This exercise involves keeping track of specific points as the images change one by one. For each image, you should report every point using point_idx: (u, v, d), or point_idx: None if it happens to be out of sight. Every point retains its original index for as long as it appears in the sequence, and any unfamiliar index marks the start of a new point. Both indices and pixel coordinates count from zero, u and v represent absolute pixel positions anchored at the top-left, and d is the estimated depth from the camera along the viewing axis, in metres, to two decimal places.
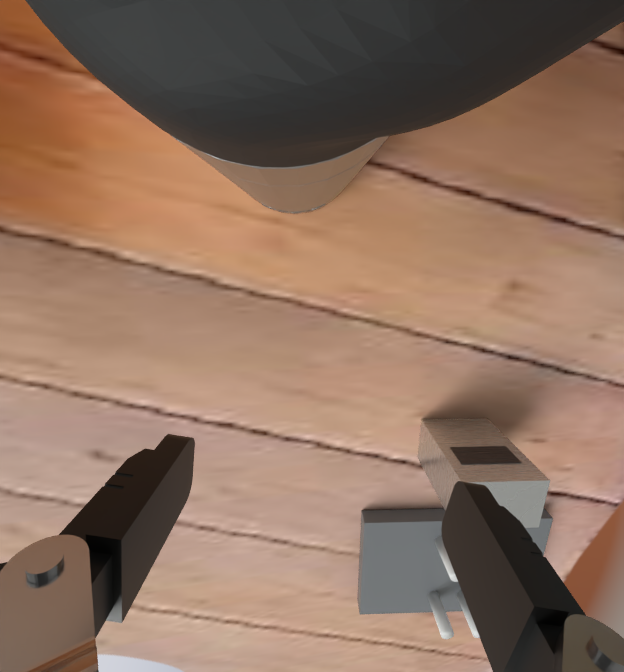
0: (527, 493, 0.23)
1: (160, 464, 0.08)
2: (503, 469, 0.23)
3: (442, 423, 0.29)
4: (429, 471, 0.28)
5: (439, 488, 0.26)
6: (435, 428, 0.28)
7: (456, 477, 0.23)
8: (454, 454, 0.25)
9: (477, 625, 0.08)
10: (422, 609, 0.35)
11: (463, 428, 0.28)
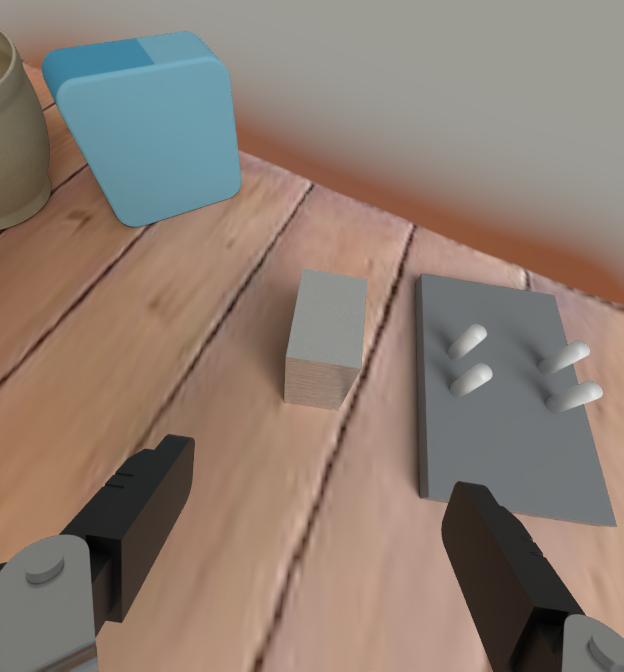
0: (316, 289, 0.20)
1: (160, 464, 0.08)
2: None
3: None
4: (333, 396, 0.22)
5: (336, 385, 0.20)
6: None
7: (289, 363, 0.18)
8: None
9: (477, 625, 0.08)
10: (582, 421, 0.24)
11: None
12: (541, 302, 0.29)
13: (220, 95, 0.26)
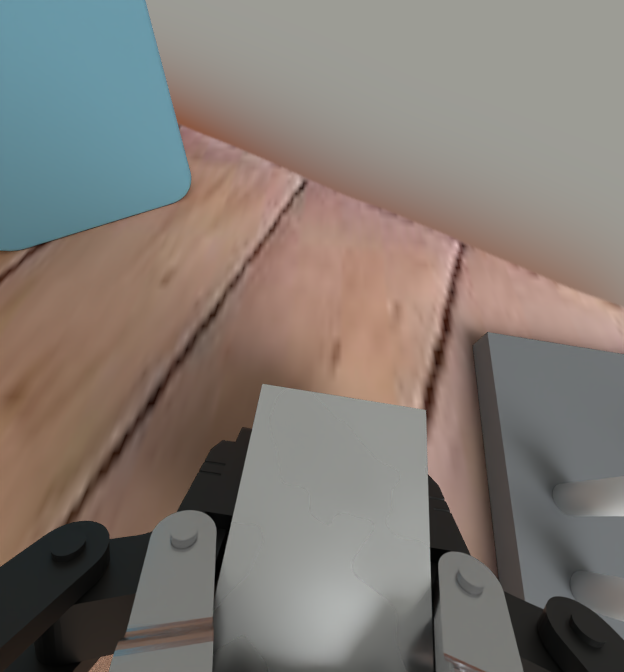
0: (295, 449, 0.07)
1: (245, 453, 0.09)
2: None
3: None
4: None
5: None
6: None
7: None
8: None
9: None
10: None
11: None
12: None
13: (123, 11, 0.14)
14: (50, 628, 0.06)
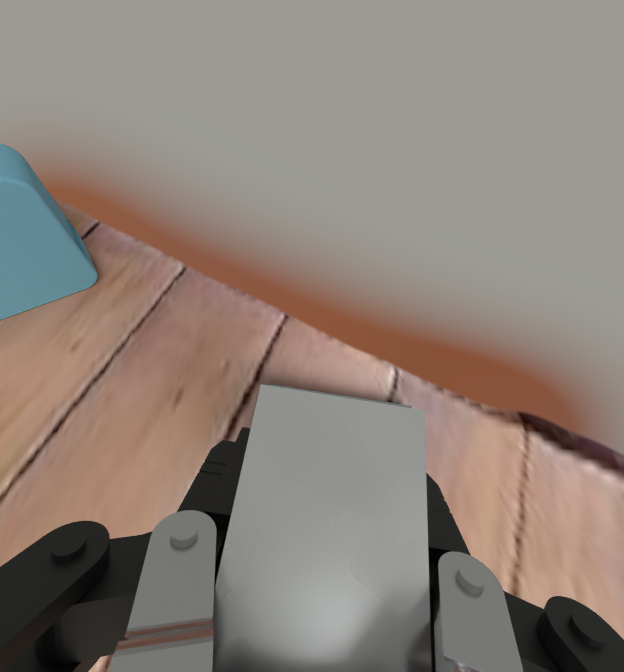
0: (293, 449, 0.07)
1: None
2: None
3: None
4: None
5: None
6: None
7: None
8: None
9: None
10: None
11: None
12: None
13: (30, 208, 0.24)
14: (50, 628, 0.06)
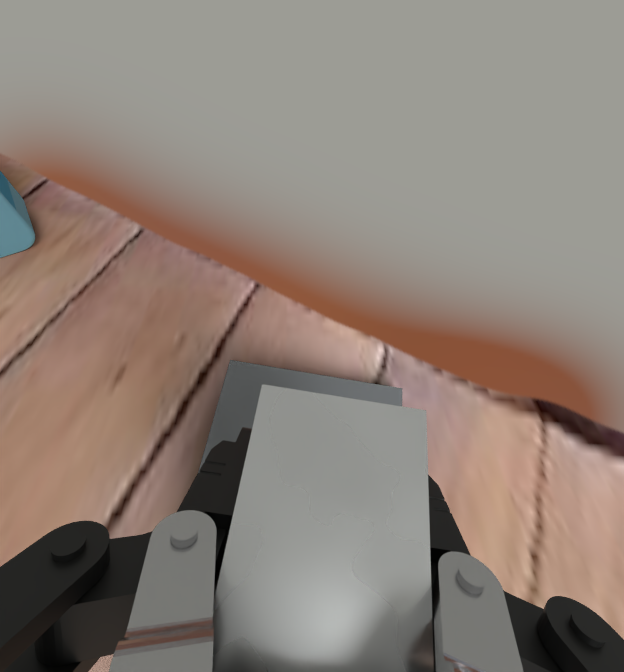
0: (295, 449, 0.07)
1: (246, 453, 0.09)
2: None
3: None
4: None
5: None
6: None
7: None
8: None
9: None
10: None
11: None
12: (381, 400, 0.22)
13: None
14: (50, 628, 0.06)
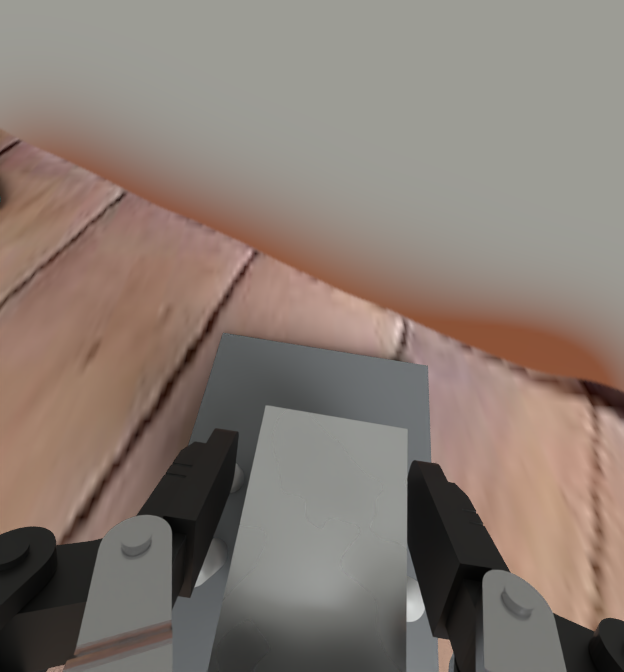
0: (293, 463, 0.09)
1: (215, 455, 0.09)
2: None
3: None
4: None
5: None
6: None
7: None
8: None
9: (421, 588, 0.08)
10: (425, 614, 0.14)
11: None
12: (404, 379, 0.19)
13: None
14: None
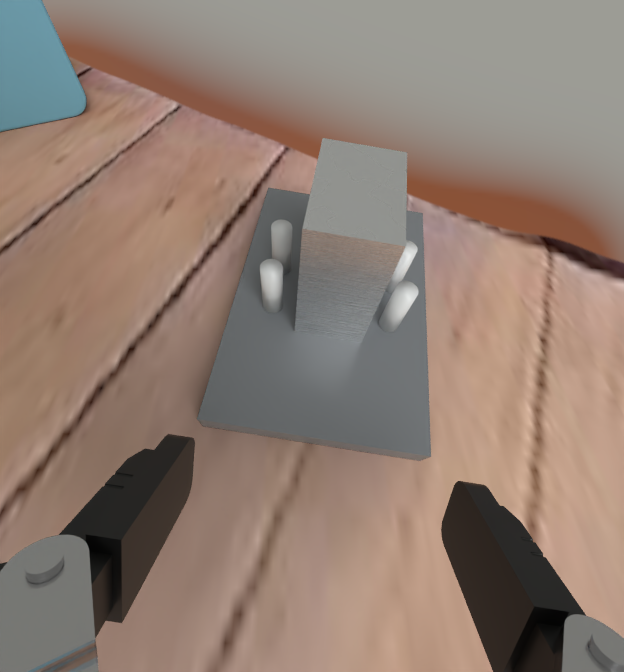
0: (341, 159, 0.15)
1: (160, 464, 0.08)
2: None
3: None
4: (359, 314, 0.17)
5: (365, 289, 0.15)
6: None
7: (307, 244, 0.13)
8: None
9: (477, 625, 0.08)
10: (419, 341, 0.20)
11: None
12: None
13: None
14: None
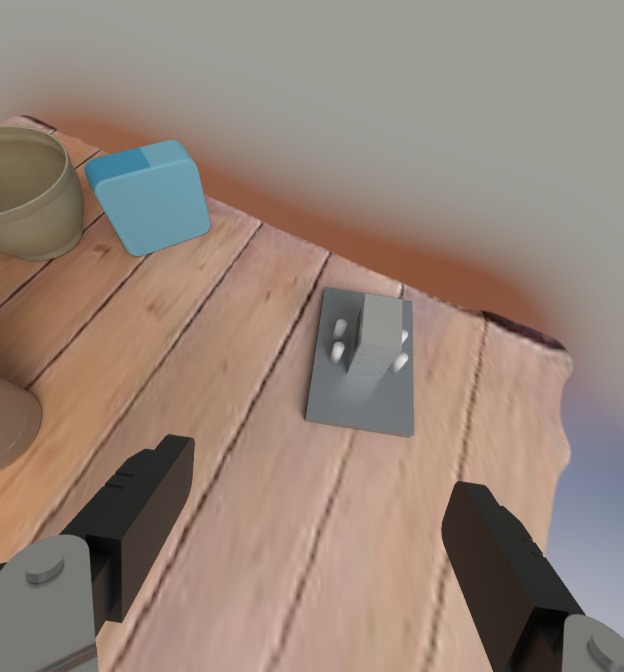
0: (374, 305, 0.34)
1: (160, 464, 0.08)
2: (361, 318, 0.35)
3: (349, 359, 0.39)
4: (380, 368, 0.37)
5: (384, 360, 0.35)
6: (349, 363, 0.38)
7: (361, 346, 0.33)
8: (355, 348, 0.35)
9: (477, 625, 0.08)
10: (409, 378, 0.40)
11: (351, 344, 0.39)
12: (402, 306, 0.45)
13: (192, 178, 0.41)
14: None
